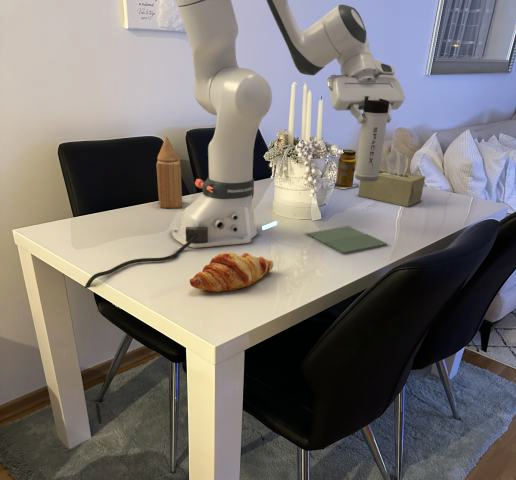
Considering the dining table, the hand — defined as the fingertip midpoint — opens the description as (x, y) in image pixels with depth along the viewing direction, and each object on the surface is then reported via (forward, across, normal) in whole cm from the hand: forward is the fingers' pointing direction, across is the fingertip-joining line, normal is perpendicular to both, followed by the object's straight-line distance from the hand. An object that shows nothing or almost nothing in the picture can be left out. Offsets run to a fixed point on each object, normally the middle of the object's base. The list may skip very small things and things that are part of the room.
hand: (375, 121), depth 129 cm
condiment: (-10, +18, +49) cm, 53 cm away
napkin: (+26, -10, +13) cm, 31 cm away
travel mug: (+10, 0, +11) cm, 15 cm away
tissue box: (+4, +25, +35) cm, 43 cm away
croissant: (+38, -47, +1) cm, 60 cm away
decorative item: (-5, -47, +44) cm, 64 cm away
